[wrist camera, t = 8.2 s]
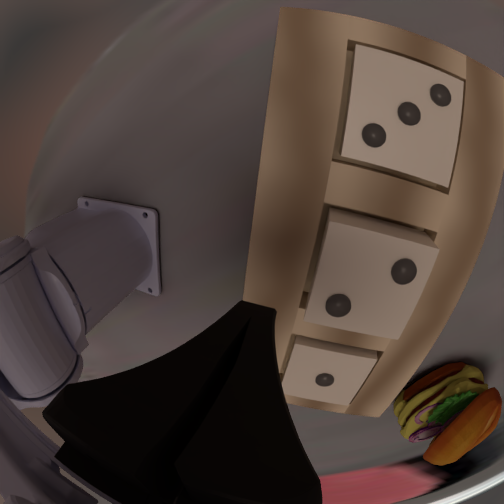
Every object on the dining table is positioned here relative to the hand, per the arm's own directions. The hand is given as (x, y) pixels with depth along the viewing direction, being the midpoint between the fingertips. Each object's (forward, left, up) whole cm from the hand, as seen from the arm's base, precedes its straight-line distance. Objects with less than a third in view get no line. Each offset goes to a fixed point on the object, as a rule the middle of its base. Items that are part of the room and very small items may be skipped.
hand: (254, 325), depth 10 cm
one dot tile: (+5, -9, -8) cm, 13 cm away
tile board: (+5, 0, -9) cm, 11 cm away
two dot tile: (+5, 0, -7) cm, 9 cm away
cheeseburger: (+19, -12, -10) cm, 25 cm away
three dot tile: (+5, +9, -8) cm, 13 cm away
